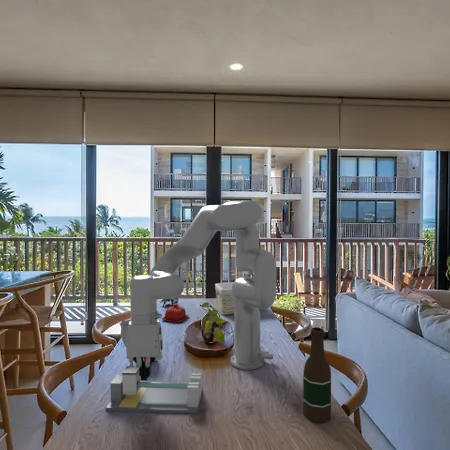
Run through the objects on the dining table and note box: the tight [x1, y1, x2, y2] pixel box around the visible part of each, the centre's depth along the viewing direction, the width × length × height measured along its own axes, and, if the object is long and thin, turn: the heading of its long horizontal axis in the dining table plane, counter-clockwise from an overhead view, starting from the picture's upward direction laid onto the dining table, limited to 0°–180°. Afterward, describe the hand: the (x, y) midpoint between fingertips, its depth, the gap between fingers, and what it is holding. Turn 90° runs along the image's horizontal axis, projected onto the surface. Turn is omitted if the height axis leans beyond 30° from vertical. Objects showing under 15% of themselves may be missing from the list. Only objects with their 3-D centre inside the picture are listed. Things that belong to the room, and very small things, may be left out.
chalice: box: [119, 319, 135, 366], centre depth 114 cm, size 7×7×18 cm
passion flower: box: [159, 295, 180, 307], centre depth 196 cm, size 11×11×12 cm
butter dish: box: [161, 303, 190, 323], centre depth 172 cm, size 12×12×8 cm
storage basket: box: [214, 281, 260, 316], centre depth 186 cm, size 24×16×15 cm
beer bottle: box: [302, 326, 332, 424], centre depth 90 cm, size 8×8×24 cm
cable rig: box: [105, 372, 204, 414], centre depth 99 cm, size 26×12×6 cm, turn 86°
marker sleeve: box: [121, 365, 141, 395], centre depth 99 cm, size 4×4×6 cm
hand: (145, 378), depth 99 cm, fingers closed
